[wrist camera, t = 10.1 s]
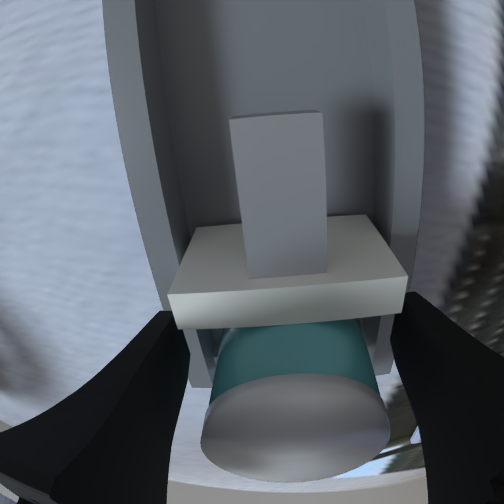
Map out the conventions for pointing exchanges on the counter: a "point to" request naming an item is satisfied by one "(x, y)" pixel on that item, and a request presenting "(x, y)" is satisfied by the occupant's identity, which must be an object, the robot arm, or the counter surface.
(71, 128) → the counter surface
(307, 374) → the jar
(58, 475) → the robot arm
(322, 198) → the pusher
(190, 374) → the lane
